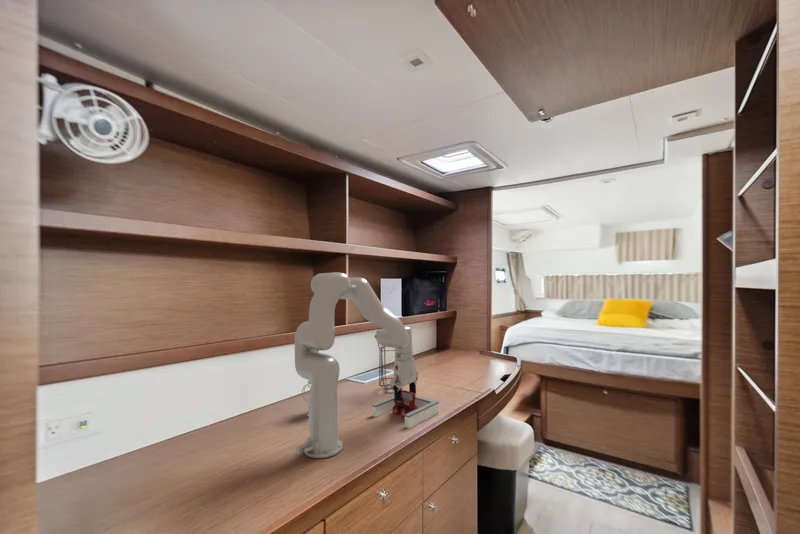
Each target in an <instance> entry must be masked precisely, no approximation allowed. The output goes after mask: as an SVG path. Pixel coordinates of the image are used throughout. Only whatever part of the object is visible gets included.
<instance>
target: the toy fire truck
mask: <svg viewBox="0 0 800 534" xmlns="http://www.w3.org/2000/svg"><path fill="white" fill-rule="evenodd" d="M400 391H401V401H398V400H395V398H394V406H393V410H392V413H393V415H394V416H400V417H401V418H402V419H403V420H405V414H407V413H409V412H412V411H414V410H416V409H418V407H417V406H416V405H415V399H416V397H415V396H416V394H415V393H412V392H409V391H408V390H404V389H403V388H402V389H400Z"/></svg>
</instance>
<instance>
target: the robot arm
mask: <svg viewBox="0 0 800 534" xmlns="http://www.w3.org/2000/svg"><path fill="white" fill-rule="evenodd" d="M310 288H311V291H312V292H313V294H314V295H313V296H312V297H311V300H310V303H309V312H308V320H306V321H304V322H302V323H300V324H299V325H298V327H297V329H296V330H295V335H294V367H295V371H296V373H297V375H298V376H299V377H301V378H303V379H306V380H307V381H309V380H311V381H312V384H310V387H309V390H310V391H308V392H309V393H308V394H309V397H307V398H308V399H307V401H308V402H307V403H308V404H309V417H308V437H306V438H305V442H304V443H302V444H300V445H298V446H296V447H295V452H296V453H297V454H299V453H301V452H304V455H306V456H307V457H309V458H313V459H324V458H330V457H333V456H335V455H337V454H339V453H340V452H341V451H342V449H343V444H344V443H343V441H342V440H340V439H339V436H338V435H339V427H338V425H339V423H338V421H339V420H338V419H339V418H338V383H339V377H340V370H341V369H340V364H339V361H338V360H337V359H336V358H335V357H334V356H333V355H330V354H326V353H323V352H320V351H328V350H330V349H331V348H332V347H333V346H334V345H335V338H336V336H335V335H336V333H335V332H336V331H335V330H336V329H335V328H336V327H335V323H336V322H335V313H336V311H335V310H336V307H337V306H336V305H337V304H338V302H339V300H352V301H353V302H354V304H355V305H356V307H357V308H358V310H359V311H360V313H361V315H362V317H363V318H364V319H365V320H367V321H368V322H370V323H372V324H374V325H376V326H378V327H380V329H379V331H378V333H376V334H377V335H376V334H375V335H376V338H375V339H376V342H377V344H378V343H379V346H380V347H382V346H383V347H384V346H385V348H392V349H394V350H395V351H394V365H393V377H392V378H393V379H390V381H389V384H391V386H390V388H391V387H392V388H391V389H392V390H393V392H394V393H393V394H394V395H393V396H394V398H395V400H398V401H401V391H400V388H401V386H403V387H405V386H407V385H409V386H408V387H409V388H408V389H409V392H412V393H415V395H416V394H417V388H416V387H417V381H418V378H419V371H417V367H416V361H415V358H414V357H413V354H414V352H413V331H412V327H410V326H408V325H404V324H403V322H402V321H401V319H400V318H398V317H397V316H396V315H395V314H394V313H393V312H392V311H390V310H389V309H388V308H386V307H385V306H384V305H383V303H382V302H381V301H380V299H379V298H378V296H377V294H376V292H375V291H374V289H373V288H372V286H371V284H370V283H369V281H368V280H367V279H365V278H363V277H349V276H348V275H347V273H343V272H337V271H335V272H324V273H323V272H322V273H317V274H316V275H315V276H313V278H312V279H311V282H310ZM381 328H383V329H381ZM397 385H399V386H397ZM308 404H307V405H308Z"/></svg>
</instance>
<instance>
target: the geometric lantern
mask: <svg viewBox="0 0 800 534" xmlns="http://www.w3.org/2000/svg"><path fill="white" fill-rule="evenodd" d="M381 329H383V328H382V327H380V329H379V330H377V331H376V334H375V335H374V338H375V339H376V335H377V333H378V332H379V331H380V330H381ZM377 346H378V350H379V361H378V362H379V363H378V364H379V367H378V368H379V369H378V370H379V371H378V375H379V377H378V381H379V382H378V385H379V387H381V388H382V389H384V391H385V394H394V391H393V392H389V391H388V390H391V389H393V388H392V387H391V384H390V383H389V384H388V383H387V380H392V379H393V378H394V377H387V375H386V370H387V369H386V352H395V349H393V350H392V349H391V350H386V347H385V346H381V345H380V344H379V343H378V342H377ZM383 358H384V362H383ZM383 364H384V365H383ZM398 386H399V385H397V387H398ZM388 387H390V388H388ZM403 387H404V386H401V388H400V389H402V390H403Z"/></svg>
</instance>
